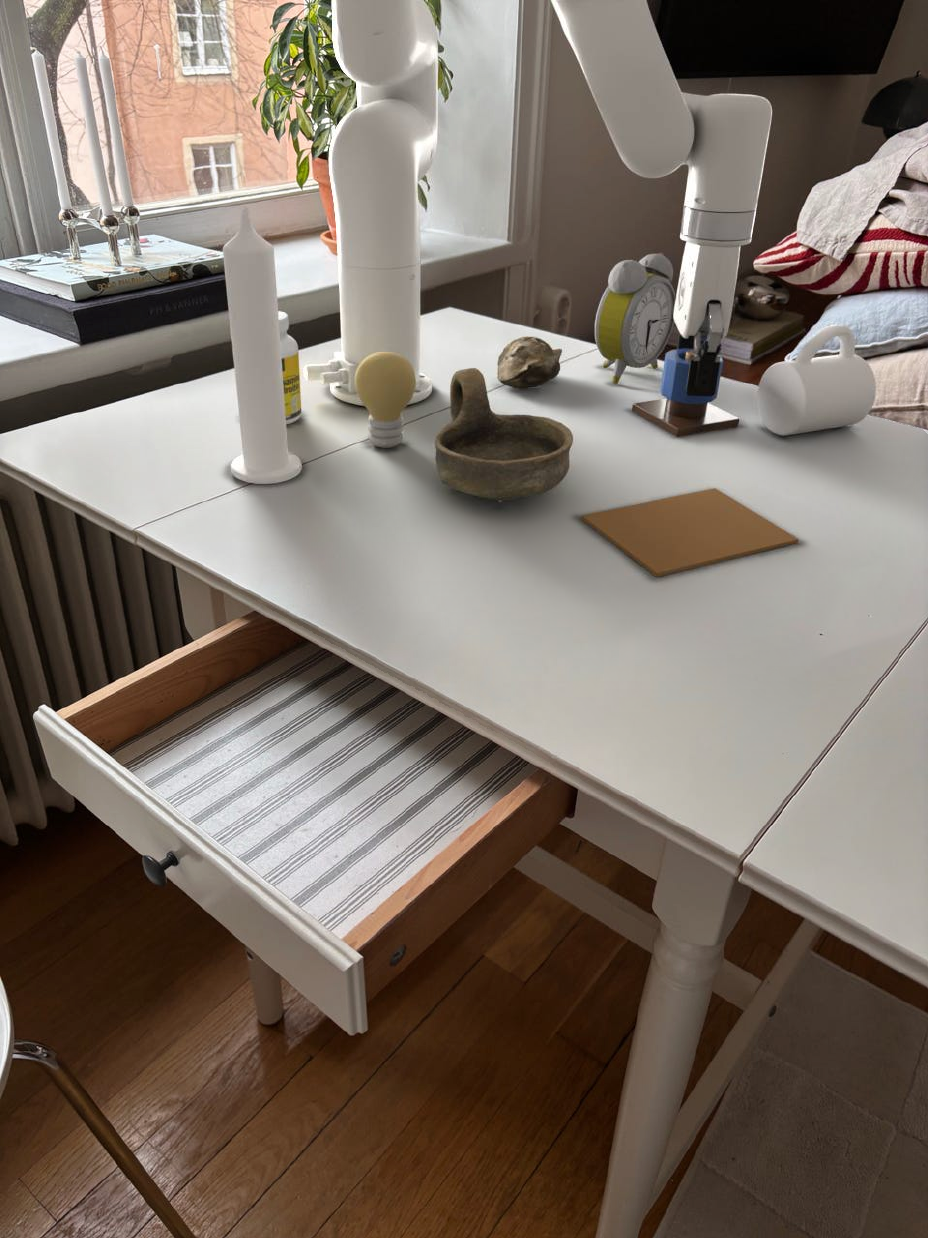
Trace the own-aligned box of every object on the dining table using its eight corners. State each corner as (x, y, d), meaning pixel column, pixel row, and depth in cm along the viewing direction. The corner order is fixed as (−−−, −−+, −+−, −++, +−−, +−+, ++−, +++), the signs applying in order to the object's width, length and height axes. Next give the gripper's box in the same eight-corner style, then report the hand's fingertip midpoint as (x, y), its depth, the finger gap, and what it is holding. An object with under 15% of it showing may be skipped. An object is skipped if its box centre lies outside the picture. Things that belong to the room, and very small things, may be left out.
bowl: (468, 532, 87) (472, 429, 82) (399, 461, 101) (399, 368, 95) (597, 510, 92) (609, 410, 87) (516, 444, 106) (522, 355, 100)
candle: (308, 459, 100) (294, 202, 87) (292, 486, 94) (273, 216, 81) (243, 454, 101) (218, 198, 88) (222, 481, 95) (192, 211, 82)
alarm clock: (619, 389, 123) (635, 267, 115) (577, 376, 126) (589, 257, 118) (669, 370, 130) (686, 254, 122) (627, 358, 134) (641, 245, 126)
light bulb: (425, 439, 106) (426, 349, 101) (398, 459, 101) (397, 366, 96) (375, 428, 108) (373, 340, 103) (345, 447, 103) (342, 356, 98)
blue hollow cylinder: (683, 406, 109) (689, 367, 107) (649, 389, 114) (655, 351, 111) (727, 399, 112) (734, 361, 109) (692, 382, 116) (699, 346, 114)
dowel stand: (676, 437, 109) (687, 368, 105) (631, 411, 116) (640, 345, 112) (738, 426, 113) (751, 359, 108) (690, 401, 119) (701, 337, 115)
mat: (656, 577, 82) (657, 573, 82) (581, 518, 91) (581, 515, 90) (798, 542, 88) (799, 539, 88) (714, 491, 97) (715, 487, 97)
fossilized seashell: (531, 381, 116) (582, 378, 123) (519, 328, 116) (570, 327, 123) (488, 399, 122) (539, 395, 129) (476, 348, 121) (527, 347, 128)
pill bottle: (249, 430, 107) (239, 325, 100) (241, 410, 112) (231, 309, 106) (307, 425, 108) (301, 321, 102) (296, 405, 114) (290, 306, 107)
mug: (750, 421, 114) (770, 319, 108) (817, 411, 118) (840, 312, 112) (797, 446, 108) (821, 340, 102) (866, 435, 112) (894, 331, 105)
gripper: (672, 210, 110) (653, 357, 119) (693, 240, 95) (670, 405, 105) (737, 212, 110) (714, 359, 119) (769, 242, 95) (739, 408, 104)
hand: (693, 381), depth 112 cm, fingers open, 9 cm apart
